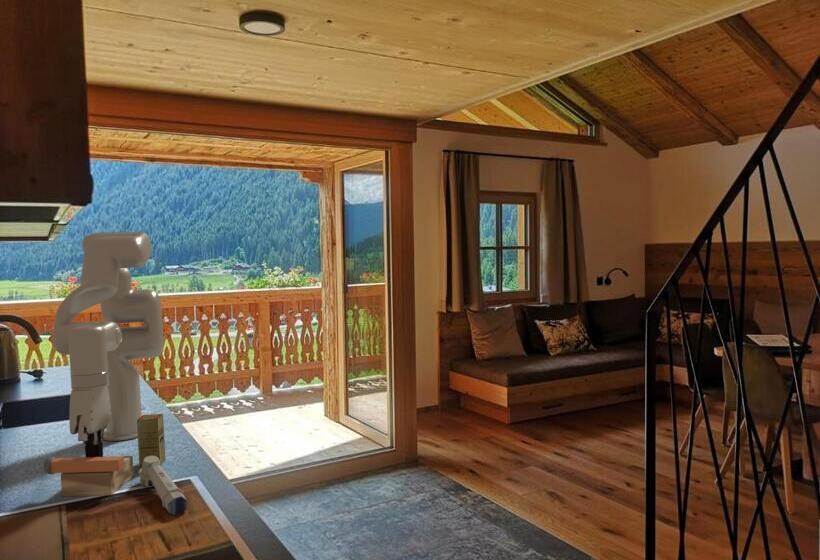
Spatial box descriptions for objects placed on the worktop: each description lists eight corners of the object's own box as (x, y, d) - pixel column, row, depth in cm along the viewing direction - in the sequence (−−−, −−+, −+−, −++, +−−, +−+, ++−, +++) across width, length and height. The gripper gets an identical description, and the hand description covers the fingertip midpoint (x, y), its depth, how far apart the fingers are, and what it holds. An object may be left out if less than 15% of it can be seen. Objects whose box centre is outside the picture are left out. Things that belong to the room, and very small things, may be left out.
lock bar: (53, 470, 140) (52, 455, 140) (125, 468, 140) (124, 452, 140) (44, 476, 137) (43, 460, 136) (118, 474, 137) (117, 458, 136)
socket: (87, 477, 148) (86, 457, 148) (133, 476, 148) (132, 455, 148) (61, 496, 137) (60, 474, 137) (111, 494, 137) (110, 472, 137)
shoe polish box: (139, 468, 154) (136, 420, 153) (145, 461, 159) (142, 415, 158) (160, 466, 155) (157, 419, 154) (165, 460, 160) (163, 413, 159)
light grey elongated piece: (164, 500, 124) (135, 452, 144) (165, 530, 125) (136, 479, 145) (191, 493, 127) (159, 447, 147) (191, 523, 128) (159, 473, 148)
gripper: (90, 374, 148) (94, 450, 149) (54, 388, 133) (59, 472, 134) (121, 373, 148) (126, 449, 149) (89, 387, 133) (94, 471, 134)
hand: (94, 460), depth 141 cm, fingers closed
